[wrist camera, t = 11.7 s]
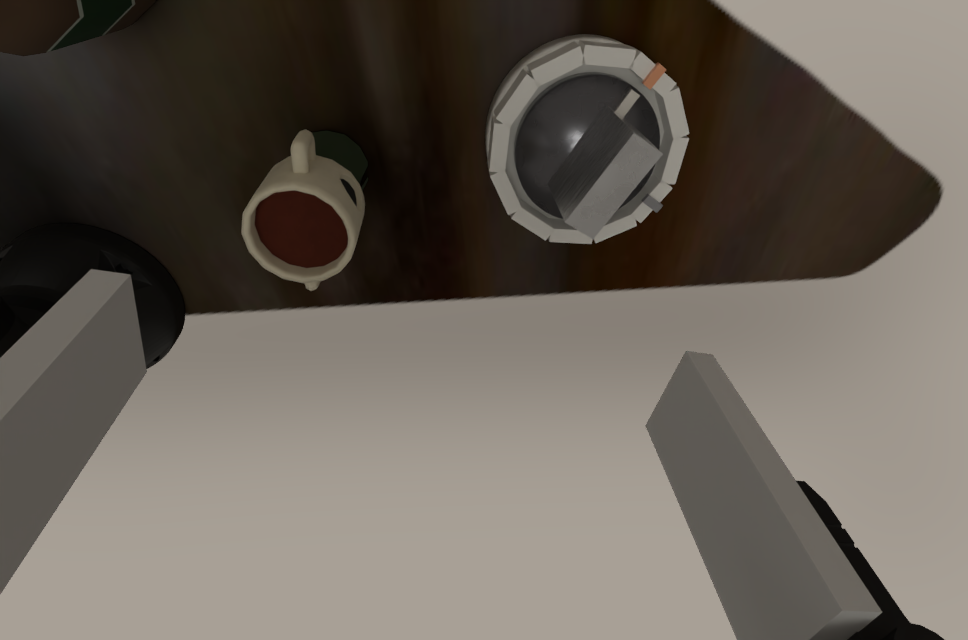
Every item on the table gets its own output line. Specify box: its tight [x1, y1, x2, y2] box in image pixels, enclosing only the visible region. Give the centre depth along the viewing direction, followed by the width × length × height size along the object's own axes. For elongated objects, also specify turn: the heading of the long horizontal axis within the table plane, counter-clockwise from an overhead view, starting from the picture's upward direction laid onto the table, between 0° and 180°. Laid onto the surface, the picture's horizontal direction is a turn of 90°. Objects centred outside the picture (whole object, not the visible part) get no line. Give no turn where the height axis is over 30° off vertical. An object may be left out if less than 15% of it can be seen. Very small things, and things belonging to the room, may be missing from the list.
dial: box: [514, 72, 663, 239], centre depth 39 cm, size 11×11×8 cm
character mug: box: [241, 129, 368, 291], centre depth 40 cm, size 11×7×13 cm, turn 174°
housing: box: [485, 34, 689, 244], centre depth 43 cm, size 15×15×5 cm
